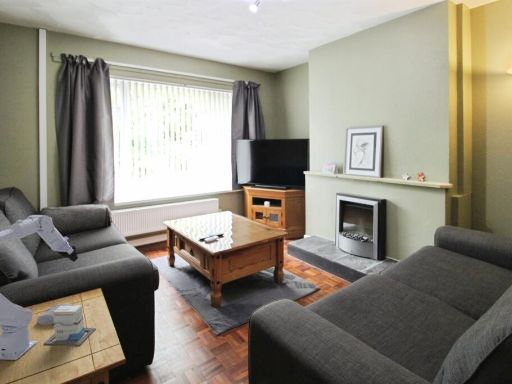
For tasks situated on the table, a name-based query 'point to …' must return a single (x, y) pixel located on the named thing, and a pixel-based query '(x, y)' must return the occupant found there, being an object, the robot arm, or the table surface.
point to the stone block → (50, 314)
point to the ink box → (68, 322)
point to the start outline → (50, 342)
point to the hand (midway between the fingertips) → (70, 256)
